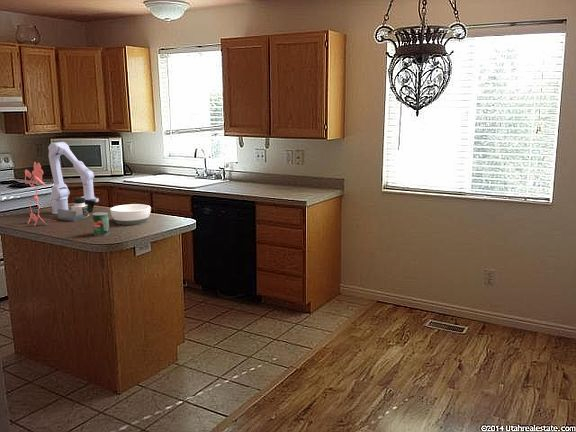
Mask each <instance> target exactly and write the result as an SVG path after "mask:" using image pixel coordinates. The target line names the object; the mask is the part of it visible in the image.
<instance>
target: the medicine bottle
mask: <svg viewBox="0 0 576 432" xmlns="http://www.w3.org/2000/svg"><path fill="white" fill-rule="evenodd" d="M83 197H84V196H83ZM83 197H82V196H79V197H78V196H77V197H74V198H73V204H74V205H72V206H71V210H72V211H75V212H76V216H78V215H82V214H84V215H85V218H88V217H90V213H89V209H88V205H87V204H85V198H83Z"/></svg>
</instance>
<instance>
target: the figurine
mask: <svg viewBox="0 0 576 432" xmlns="http://www.w3.org/2000/svg"><path fill="white" fill-rule="evenodd" d="M24 174H25V176H24V184H26V185H27V184H29V186H30V187H31V188H33V187H35V188H36V192H35V193H36V194H35V195H34V196H33V197H32V200H30V201H29V202H28V206H29V208H30V213H29V216H30V217H29V219H28V221H27V224H30V223H31V222H30V221H31V220H33V221H34V222H35V223H34V225H33V226H34V227H35V226H36V224H37V223H38V220H39V219H40V220H41V222H43V223H44V224H45V225H47V223H46V220H47V221H51V219H48V218H47V219H45V218H44V219H43V218H42V217H41V216H40V207H39V205H37V212H38V214H37V215H36V214H34V213H33V211H32V207H31V204H30V203H31V202H33V201H36V202H37V204H39V197H38V190H39V189H38V185H37V184H38V183H39V184H40V185H41V184H42V185H43V186H47V184H46V183H44V181H43V175H44V171H43V169H42V166H41V164H40V162H36V161H34V162H33V170H32V172H30V171H29V170H28V169H25V170H24ZM27 177H28V178H29V179H30V180H29V181H28V182H27ZM31 182H32V183H31ZM34 183H35V184H36V185H37V186H36V185H35V184H34ZM44 220H45V221H44ZM53 221H55V222H56V220H55V219H54V220H53Z"/></svg>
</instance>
